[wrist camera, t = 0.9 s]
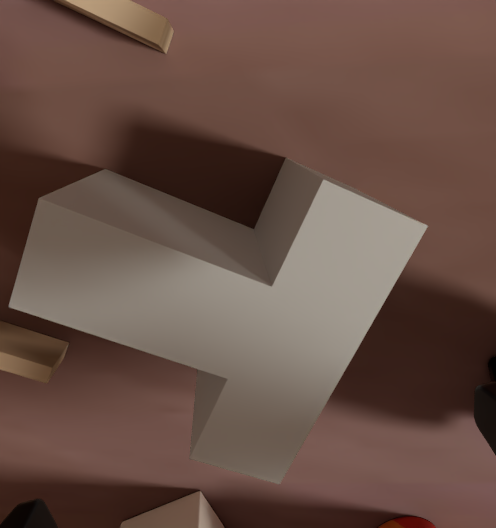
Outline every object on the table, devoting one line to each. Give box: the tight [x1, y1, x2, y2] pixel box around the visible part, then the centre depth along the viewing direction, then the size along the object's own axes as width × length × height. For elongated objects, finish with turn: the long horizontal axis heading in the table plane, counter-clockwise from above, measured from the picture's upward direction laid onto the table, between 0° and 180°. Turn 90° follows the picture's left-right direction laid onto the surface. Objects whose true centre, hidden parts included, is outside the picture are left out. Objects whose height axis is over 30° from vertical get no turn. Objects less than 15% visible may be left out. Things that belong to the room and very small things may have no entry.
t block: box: [8, 158, 428, 484], centre depth 18 cm, size 12×12×8 cm
